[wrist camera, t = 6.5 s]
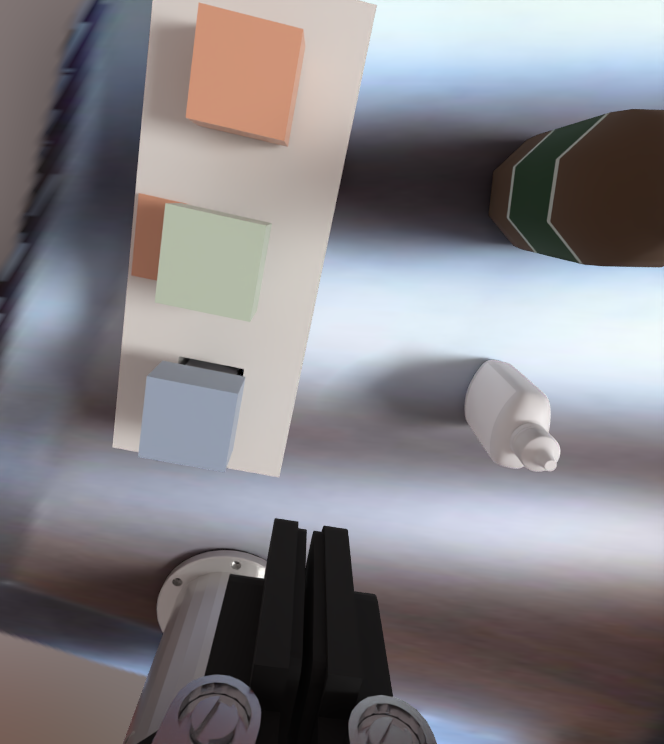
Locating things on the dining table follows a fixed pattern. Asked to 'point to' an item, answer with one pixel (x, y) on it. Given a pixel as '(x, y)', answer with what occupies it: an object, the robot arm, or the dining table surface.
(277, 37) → the terracotta button
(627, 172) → the beer bottle
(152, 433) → the slate button
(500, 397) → the eye dropper bottle
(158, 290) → the sage button
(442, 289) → the dining table surface
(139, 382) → the console
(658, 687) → the dining table surface
